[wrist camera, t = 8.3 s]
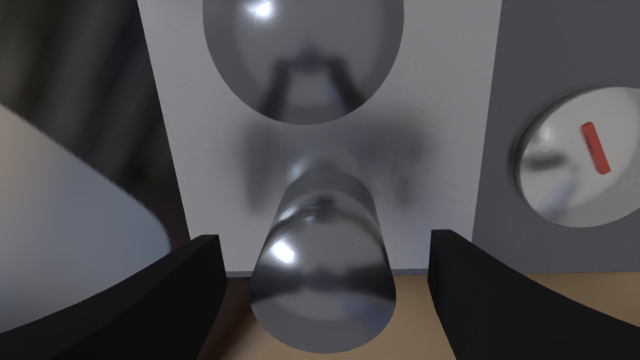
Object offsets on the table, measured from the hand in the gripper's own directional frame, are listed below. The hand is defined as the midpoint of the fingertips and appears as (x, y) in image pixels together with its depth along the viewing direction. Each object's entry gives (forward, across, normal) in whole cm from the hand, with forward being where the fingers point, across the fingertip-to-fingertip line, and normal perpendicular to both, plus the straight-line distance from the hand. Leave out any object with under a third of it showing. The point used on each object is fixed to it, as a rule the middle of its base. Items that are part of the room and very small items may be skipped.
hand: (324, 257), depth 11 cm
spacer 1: (+3, 0, -7) cm, 8 cm away
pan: (+3, 0, -3) cm, 5 cm away
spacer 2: (+3, 0, 0) cm, 3 cm away
